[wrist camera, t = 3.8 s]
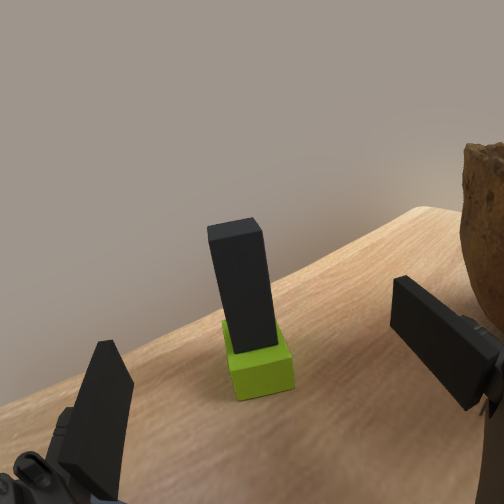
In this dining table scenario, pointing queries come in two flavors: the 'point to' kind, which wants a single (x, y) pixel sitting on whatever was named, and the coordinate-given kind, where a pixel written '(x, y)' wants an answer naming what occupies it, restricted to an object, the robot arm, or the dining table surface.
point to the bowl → (484, 226)
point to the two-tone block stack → (249, 311)
